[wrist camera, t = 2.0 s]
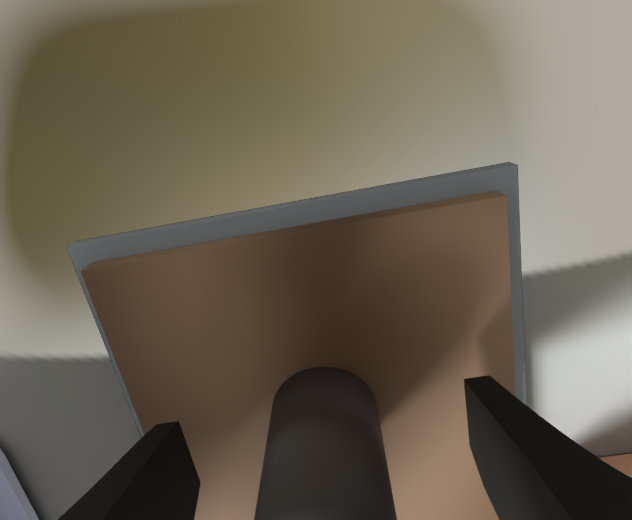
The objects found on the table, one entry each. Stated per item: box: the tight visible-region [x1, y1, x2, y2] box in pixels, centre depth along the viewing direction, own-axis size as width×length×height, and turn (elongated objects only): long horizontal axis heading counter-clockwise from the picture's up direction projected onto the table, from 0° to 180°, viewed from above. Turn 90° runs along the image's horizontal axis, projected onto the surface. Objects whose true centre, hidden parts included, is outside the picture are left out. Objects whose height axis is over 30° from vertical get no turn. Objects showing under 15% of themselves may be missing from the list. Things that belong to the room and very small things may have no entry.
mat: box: [67, 162, 526, 438], centre depth 13 cm, size 11×11×1 cm
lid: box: [81, 190, 516, 520], centre depth 10 cm, size 10×10×5 cm
